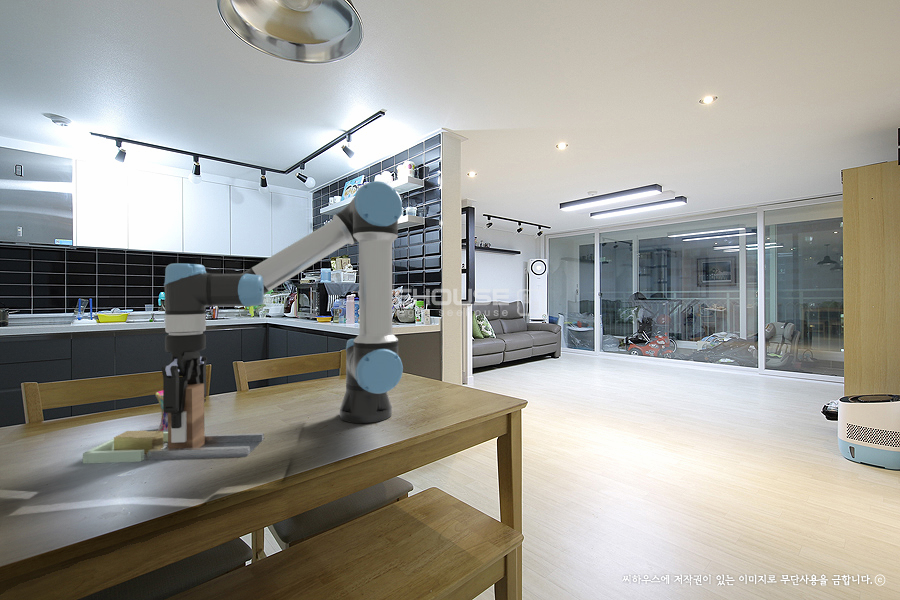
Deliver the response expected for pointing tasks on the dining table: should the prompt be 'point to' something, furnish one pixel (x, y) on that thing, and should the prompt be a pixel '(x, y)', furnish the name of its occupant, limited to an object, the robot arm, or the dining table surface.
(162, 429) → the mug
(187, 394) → the block
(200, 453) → the slot rail
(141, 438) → the tan boxy piece
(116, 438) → the chip
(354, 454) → the dining table surface
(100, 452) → the tray
